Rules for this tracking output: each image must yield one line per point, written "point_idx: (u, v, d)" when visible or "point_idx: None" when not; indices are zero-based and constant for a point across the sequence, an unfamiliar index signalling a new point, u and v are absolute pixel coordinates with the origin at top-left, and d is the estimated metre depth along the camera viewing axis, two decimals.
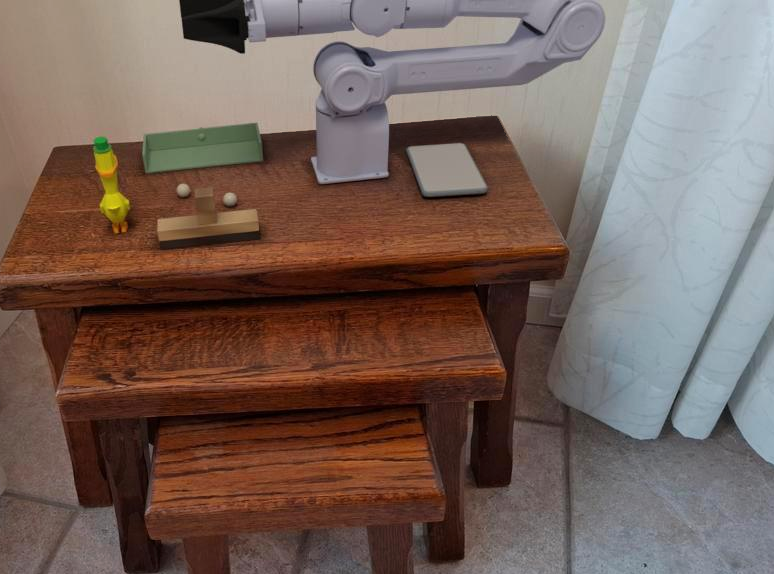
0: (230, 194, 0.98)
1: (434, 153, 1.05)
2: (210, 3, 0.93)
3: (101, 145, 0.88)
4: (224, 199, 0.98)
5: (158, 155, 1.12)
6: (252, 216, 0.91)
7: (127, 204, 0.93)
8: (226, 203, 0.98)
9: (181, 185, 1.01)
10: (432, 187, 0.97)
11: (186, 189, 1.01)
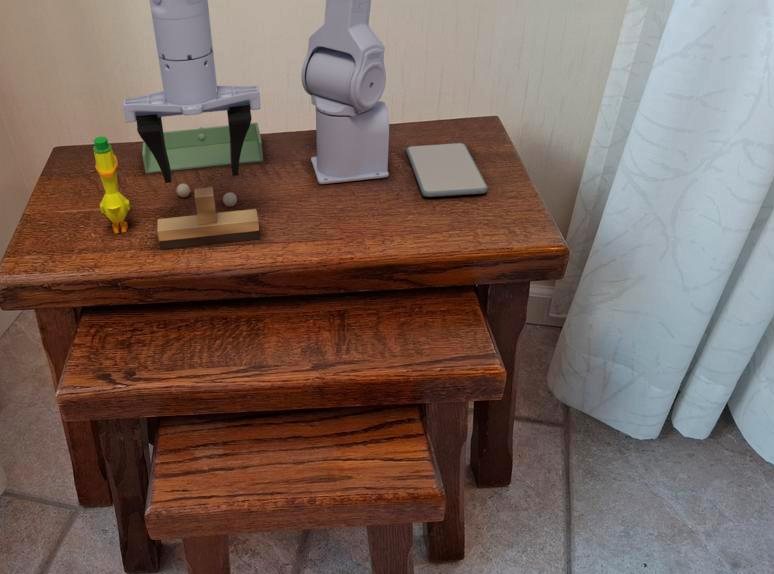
0: (230, 194, 0.98)
1: (434, 153, 1.05)
2: (164, 148, 0.85)
3: (101, 145, 0.88)
4: (224, 199, 0.98)
5: None
6: (252, 216, 0.91)
7: (127, 204, 0.93)
8: (226, 203, 0.98)
9: (181, 185, 1.01)
10: (432, 187, 0.97)
11: (186, 189, 1.01)
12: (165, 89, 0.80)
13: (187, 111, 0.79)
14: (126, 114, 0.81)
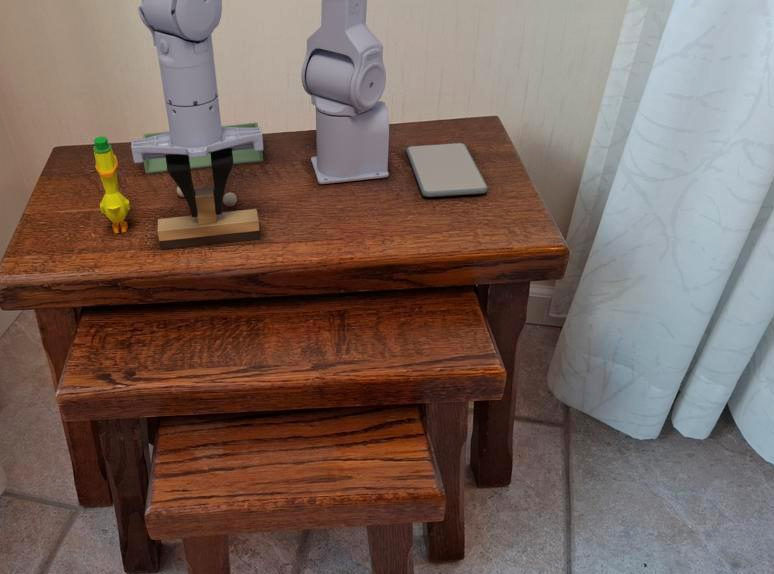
0: (230, 194, 0.98)
1: (434, 153, 1.05)
2: None
3: (101, 145, 0.88)
4: (224, 199, 0.98)
5: None
6: (252, 216, 0.91)
7: (127, 204, 0.93)
8: (226, 203, 0.98)
9: None
10: (432, 187, 0.97)
11: None
12: (172, 132, 0.83)
13: (193, 154, 0.82)
14: (134, 155, 0.84)
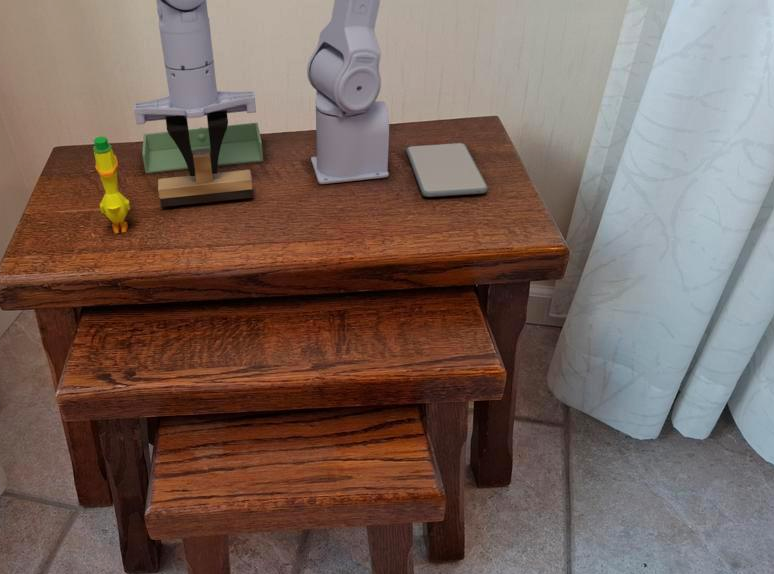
0: None
1: (434, 153, 1.05)
2: None
3: (101, 145, 0.88)
4: None
5: (158, 155, 1.12)
6: (246, 176, 0.98)
7: (127, 204, 0.93)
8: None
9: None
10: (432, 187, 0.97)
11: None
12: (171, 95, 0.90)
13: (191, 114, 0.89)
14: (136, 117, 0.92)
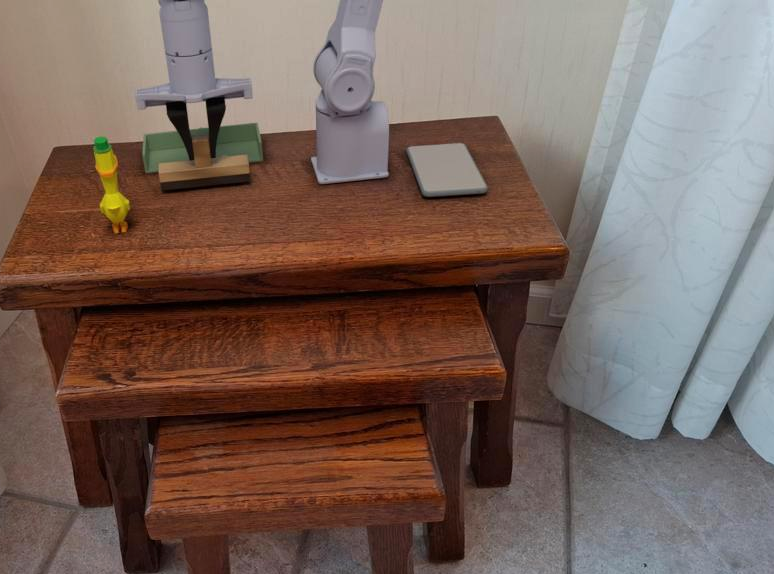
0: (224, 155, 1.07)
1: (434, 153, 1.05)
2: None
3: (101, 145, 0.88)
4: None
5: (158, 155, 1.12)
6: (243, 160, 1.02)
7: (127, 204, 0.93)
8: None
9: None
10: (432, 187, 0.97)
11: None
12: (171, 81, 0.94)
13: (190, 99, 0.93)
14: (137, 102, 0.95)
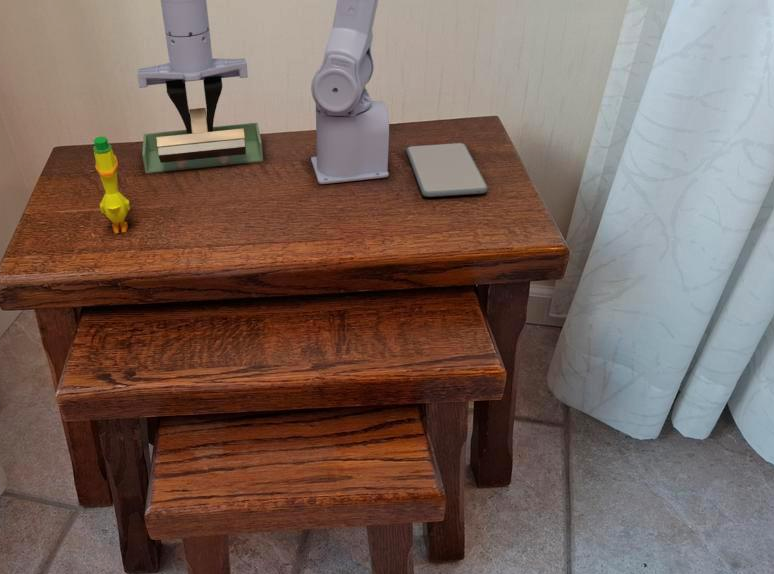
0: None
1: (434, 153, 1.05)
2: None
3: (101, 145, 0.88)
4: None
5: None
6: None
7: (127, 204, 0.93)
8: None
9: None
10: (432, 187, 0.97)
11: None
12: (171, 60, 1.00)
13: (188, 77, 0.99)
14: (139, 81, 1.01)
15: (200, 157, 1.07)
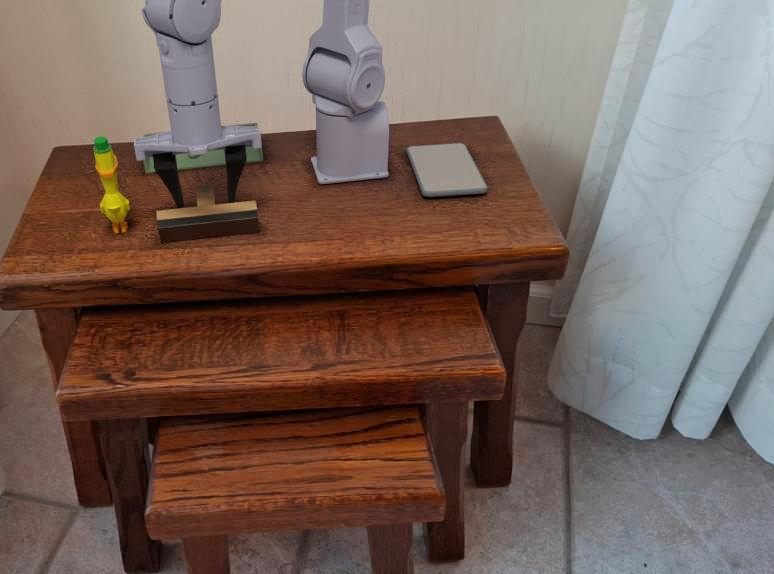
0: None
1: (434, 153, 1.05)
2: (178, 183, 0.91)
3: (101, 145, 0.88)
4: None
5: None
6: None
7: (127, 204, 0.93)
8: None
9: None
10: (432, 187, 0.97)
11: None
12: (173, 130, 0.86)
13: (194, 151, 0.85)
14: (136, 153, 0.87)
15: (206, 235, 0.93)
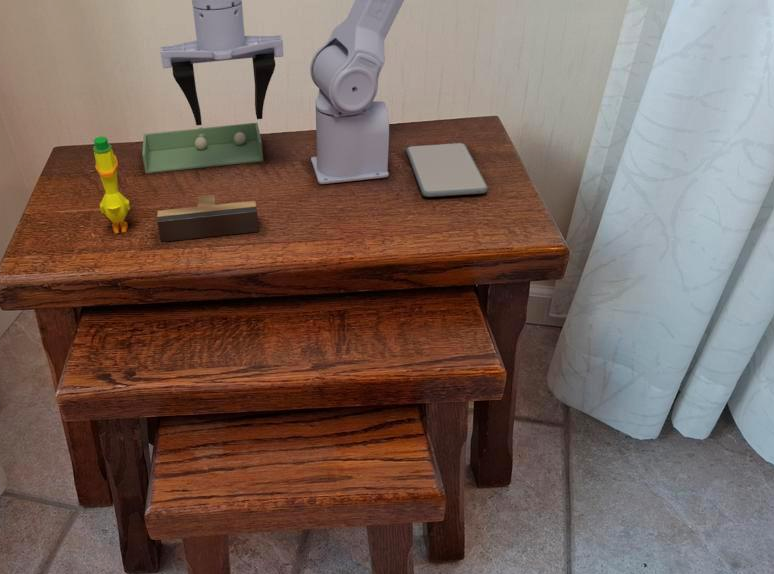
0: None
1: (434, 153, 1.05)
2: None
3: (101, 145, 0.88)
4: None
5: (158, 155, 1.12)
6: None
7: (127, 204, 0.93)
8: None
9: (198, 148, 1.12)
10: (432, 187, 0.97)
11: None
12: (198, 37, 0.89)
13: (219, 56, 0.88)
14: (163, 60, 0.91)
15: (206, 233, 0.93)
